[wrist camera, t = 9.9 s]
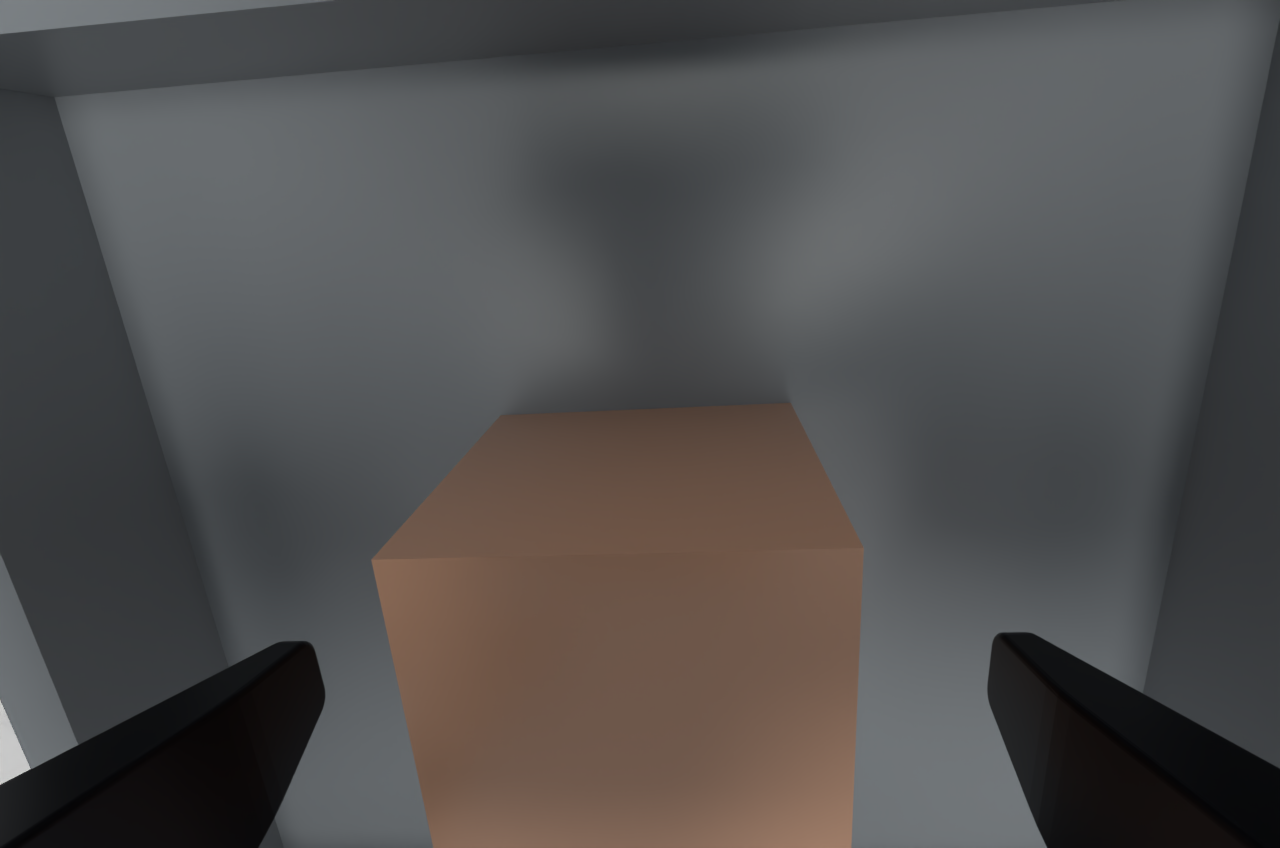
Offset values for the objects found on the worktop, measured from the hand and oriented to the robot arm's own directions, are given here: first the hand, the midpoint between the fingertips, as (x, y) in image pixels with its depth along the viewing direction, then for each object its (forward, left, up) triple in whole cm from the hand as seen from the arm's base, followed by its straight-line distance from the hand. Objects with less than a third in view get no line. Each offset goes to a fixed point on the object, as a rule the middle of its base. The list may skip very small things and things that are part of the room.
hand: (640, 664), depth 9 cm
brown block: (0, 0, -4) cm, 4 cm away
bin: (0, 0, -4) cm, 4 cm away
